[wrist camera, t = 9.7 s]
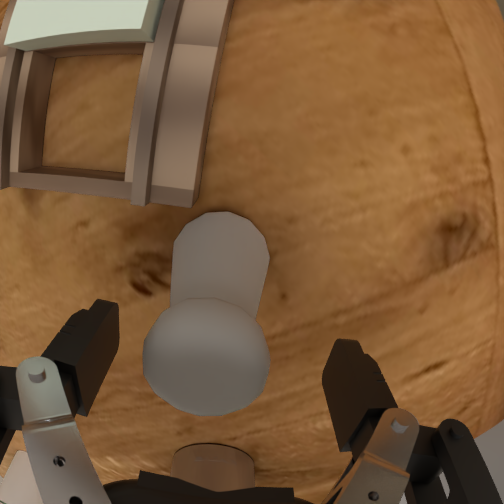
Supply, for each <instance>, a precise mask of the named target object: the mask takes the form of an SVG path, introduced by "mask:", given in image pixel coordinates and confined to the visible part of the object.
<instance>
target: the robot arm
mask: <svg viewBox="0 0 504 504" xmlns="http://www.w3.org/2000/svg"><path fill="white" fill-rule="evenodd" d="M119 338H120V337H119V308H118V304H117V303H115V302H110V301H106V300H101V299H97V300H96V301H95V302H94V304H93V305H92V306H91V308H90V309H89V310H85V309H82V310H80V311H78V312H76V313H75V314H73V315H72V316H71V317H70V318H69V319H68V321H67V322H66V323H65V325H64V326H63V327H62V328H61V330H60V333H59V332H58V334H57V335H56V336H55V338H54V339H53V340H52V342H51V343H50V344H49V346H48V347H47V348H46V350H45V351H44V352H43V354H42V355H41V357H31V358H28V359H26V360H24V361H22V362H21V363H20V364H19V366H18V367H6V366H0V464H1V462H2V460H3V457H4V455H5V453H6V450H7V448H8V446H9V444H10V442H11V439H12V437H13V435H14V433H15V431H16V430H21V431H22V433H23V438H24V442H25V446H26V450H27V454H28V457H29V461H30V465H31V468H32V471H33V475H34V478H35V481H36V484H37V487H38V490H39V493H40V496H41V499H42V501H43V504H313V503H311V502H309V501H306V500H303V499H300V498H296V497H294V491H293V488H274V487H255V476H254V462H253V460H252V459H251V458H250V457H249V456H248V455H247V454H245V453H244V452H242V451H239V450H237V449H235V448H231V447H227V446H221V445H212V444H200V445H193V446H188V447H185V448H183V449H181V450H179V451H178V452H177V453H176V454H175V455H174V457H173V462H172V468H171V474H170V477H169V476H164V475H159V474H154V473H150V472H145V471H141V470H140V474H139V478H138V479H129V480H120V481H115V482H111V483H108V484H105V485H103V486H102V484H101V482H100V480H99V477H98V475H97V473H96V471H95V469H94V467H93V465H92V462H91V460H90V458H89V455H88V453H87V451H86V448H85V446H84V444H83V441H82V439H81V436H80V433H79V431H78V428H77V426H76V423H75V420H74V418H75V415H76V414H79V415H83V416H86V417H87V415H88V413H89V411H90V408H91V406H92V404H93V402H94V400H95V397H96V395H97V393H98V391H99V389H100V387H101V384H102V382H103V380H104V378H105V376H106V374H107V372H108V370H109V368H110V366H111V363H112V361H113V359H114V357H115V355H116V353H117V350H118V347H119ZM381 373H382V372H381V370H380V368H379V366H378V364H377V362H376V361H375V360H374V359H372V358H371V357H370V356H369V355H368V354H364V352H363V350H362V348H361V346H360V344H359V342H358V341H357V340H349V339H337V340H336V341H335V343H334V346H333V348H332V351H331V353H330V355H329V358H328V360H327V363H326V365H325V367H324V370H323V374H322V385H323V389H324V393H325V396H326V400H327V404H328V408H329V412H330V415H331V419H332V423H333V427H334V431H335V435H336V439H337V443H338V447H339V451H340V452H347V451H352V455H353V457H352V458H351V459H350V461H349V462H348V464H347V465H346V467H345V469H344V470H343V472H342V474H341V475H340V477H339V478H338V480H337V482H336V483H335V485H334V486H333V488H332V489H331V491H330V492H329V494H328V495H327V497H326V498H325V499H324V500H323V502H322V503H321V504H399V503H400V501H401V498H402V496H403V493H405V497H406V500H407V504H503V503H502V500H501V498H500V496H499V493H498V491H497V488H496V486H495V484H494V482H493V479H492V477H491V475H490V473H489V470H488V468H487V466H486V464H485V462H484V460H483V458H482V456H481V453H480V451H479V449H478V447H477V445H476V443H475V442H474V439H473V437H472V435H471V433H470V431H469V429H468V428H467V427H466V426H465V425H464V424H463V423H462V422H460V421H458V420H455V419H446V420H444V421H442V423H441V424H440V425H439V426H438V428H432V427H427V426H421V425H419V423H418V421H417V419H416V418H415V417H414V416H413V415H412V414H411V413H410V412H408V411H406V410H404V409H401V408H398V406H397V404H396V402H395V400H394V397H393V395H392V393H391V391H390V389H389V387H388V385H387V383H386V382H385V379H384V376H383V374H381ZM442 472H444V474H445V477H446V480H447V482H448V485H449V489H450V493H449V497H448V499H447V497H446V494H445V492H444V489H443V486H442V483H441V480H440V478H439V475H440V474H441V473H442Z"/></svg>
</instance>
